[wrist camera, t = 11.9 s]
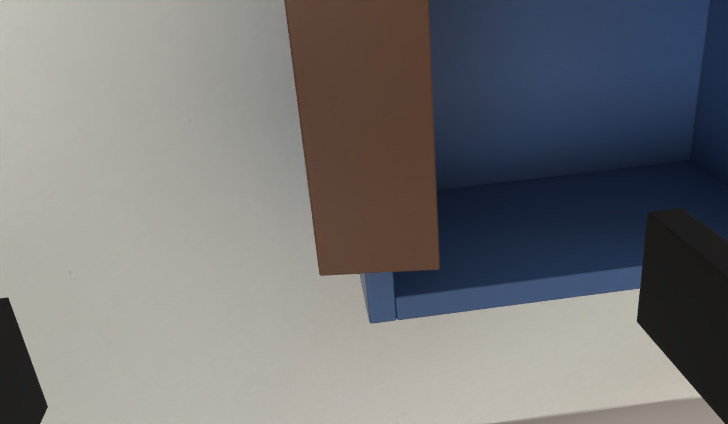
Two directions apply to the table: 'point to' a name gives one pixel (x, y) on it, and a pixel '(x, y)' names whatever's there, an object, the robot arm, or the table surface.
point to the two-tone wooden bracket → (367, 132)
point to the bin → (564, 146)
